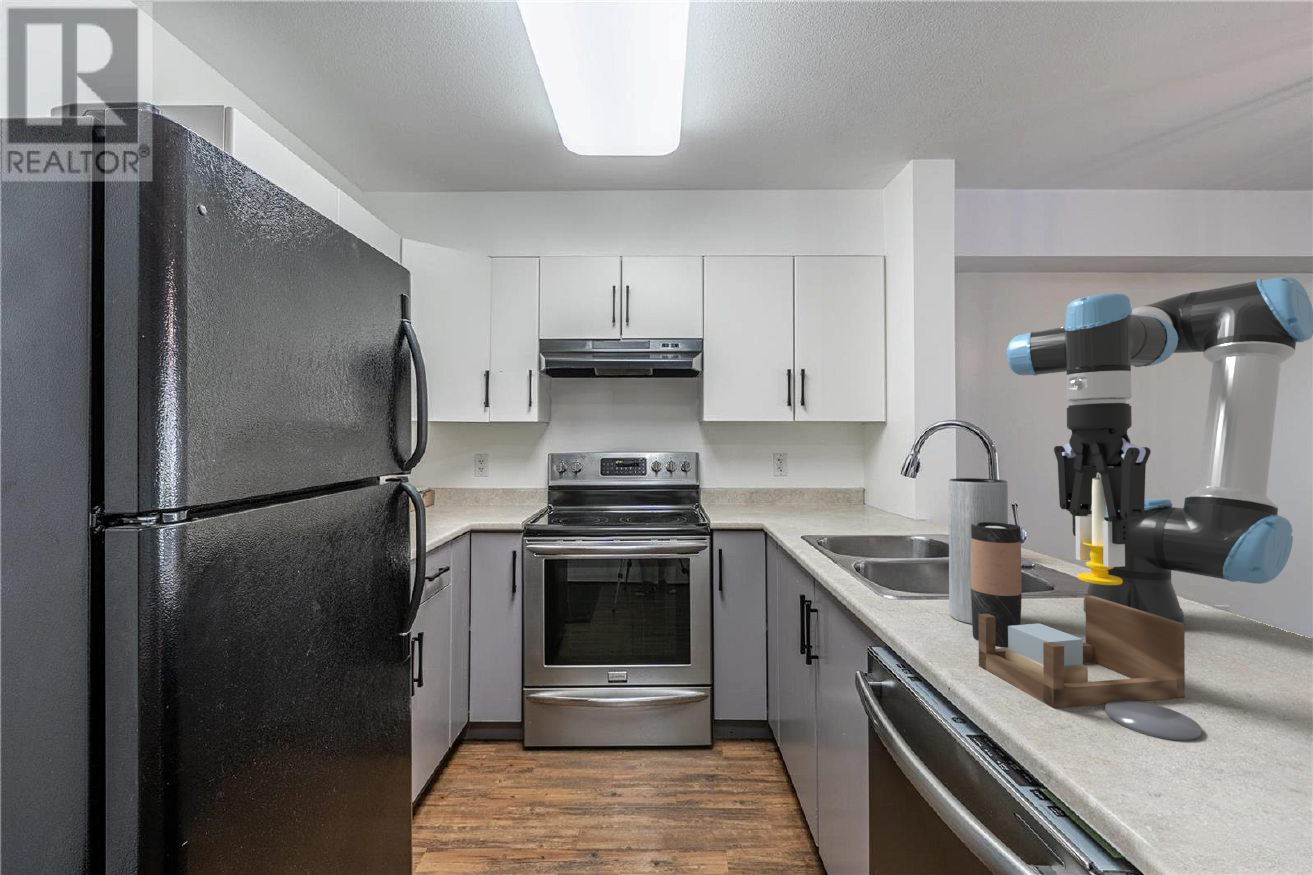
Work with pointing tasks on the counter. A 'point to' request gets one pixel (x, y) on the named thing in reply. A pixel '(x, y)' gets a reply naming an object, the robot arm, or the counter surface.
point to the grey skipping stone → (1153, 720)
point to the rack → (1101, 658)
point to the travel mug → (996, 576)
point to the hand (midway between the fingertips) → (1099, 562)
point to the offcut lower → (1070, 672)
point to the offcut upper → (1031, 640)
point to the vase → (968, 507)
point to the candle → (1098, 540)
